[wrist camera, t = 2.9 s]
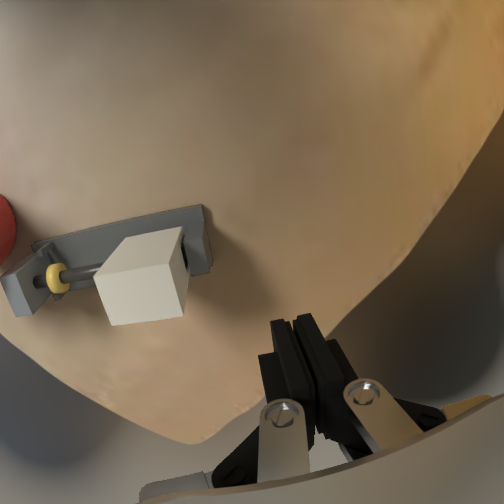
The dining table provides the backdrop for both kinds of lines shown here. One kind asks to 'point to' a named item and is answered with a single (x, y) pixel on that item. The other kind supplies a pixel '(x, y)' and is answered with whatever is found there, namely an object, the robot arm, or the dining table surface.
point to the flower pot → (6, 229)
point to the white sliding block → (145, 278)
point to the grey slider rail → (96, 256)
